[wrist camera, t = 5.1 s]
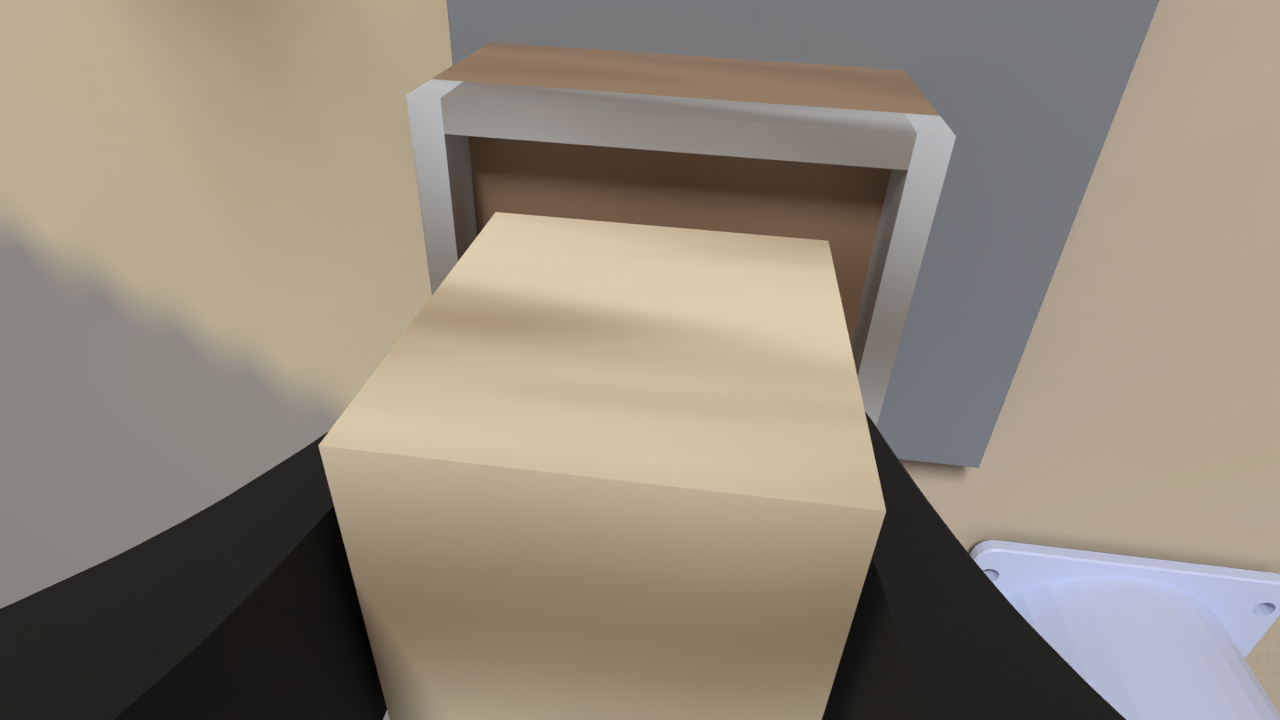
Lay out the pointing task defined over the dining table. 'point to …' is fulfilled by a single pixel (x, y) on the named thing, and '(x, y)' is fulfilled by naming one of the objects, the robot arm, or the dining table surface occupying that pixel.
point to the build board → (978, 167)
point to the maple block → (612, 480)
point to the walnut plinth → (693, 162)
